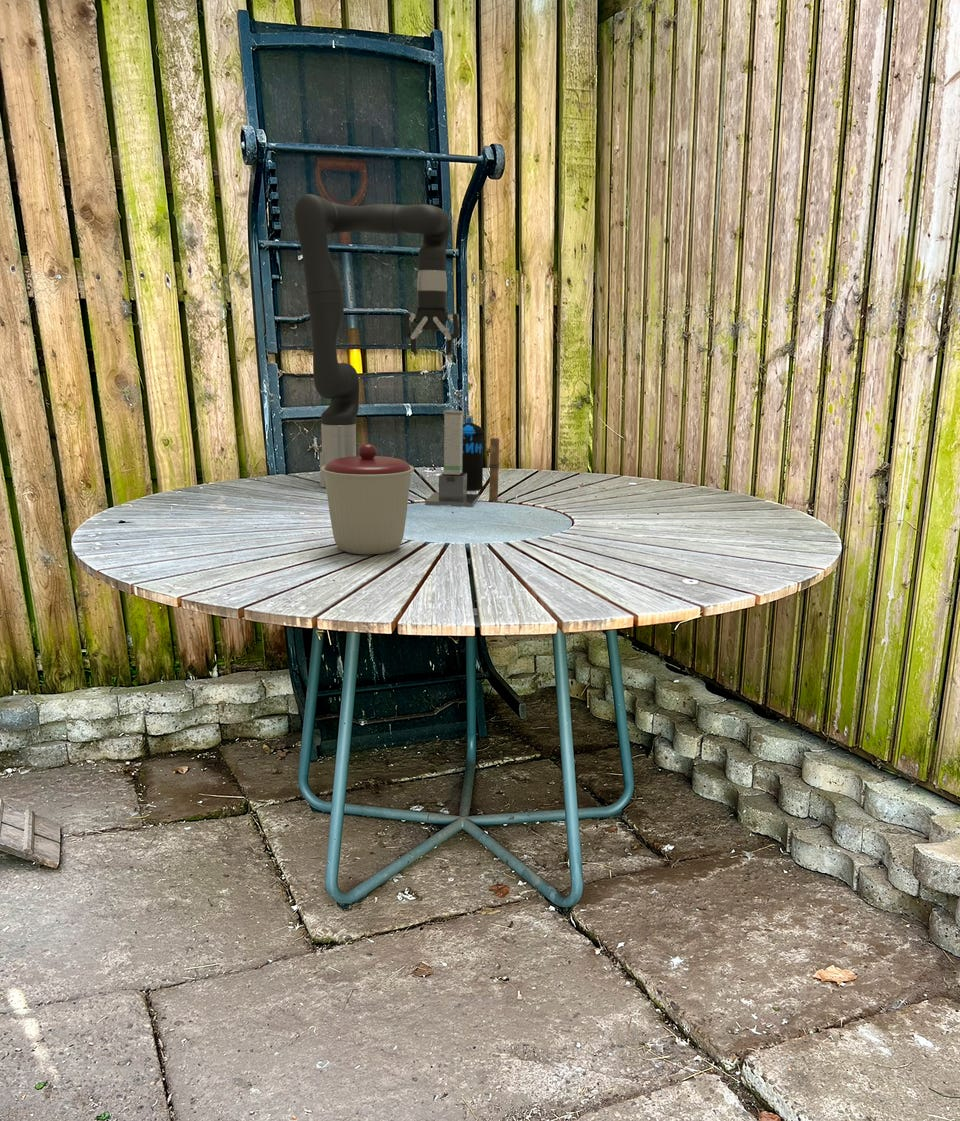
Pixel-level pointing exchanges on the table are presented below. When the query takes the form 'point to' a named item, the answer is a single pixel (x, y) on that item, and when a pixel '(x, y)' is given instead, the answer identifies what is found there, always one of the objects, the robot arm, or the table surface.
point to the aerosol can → (472, 454)
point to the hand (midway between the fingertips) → (431, 354)
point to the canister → (367, 501)
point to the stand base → (452, 492)
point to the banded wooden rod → (494, 469)
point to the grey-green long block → (453, 442)
